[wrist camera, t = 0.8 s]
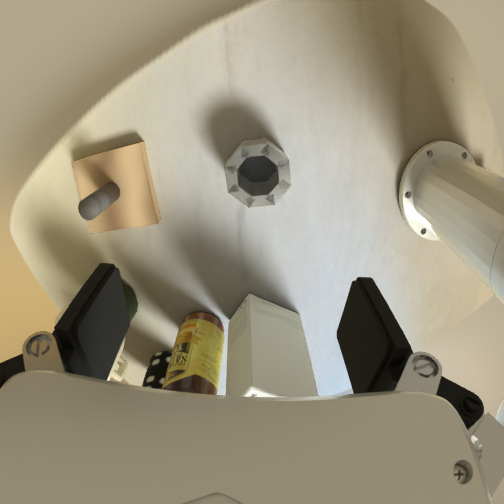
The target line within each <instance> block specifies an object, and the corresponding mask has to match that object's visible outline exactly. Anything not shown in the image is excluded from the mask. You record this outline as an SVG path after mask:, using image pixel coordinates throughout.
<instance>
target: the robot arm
mask: <svg viewBox="0 0 504 504" xmlns="http://www.w3.org/2000/svg"><path fill="white" fill-rule="evenodd" d="M405 193H406V194H405ZM399 205H400V209H401V213H402V216H403V218H404V220H405V222H406V223H407V225H408V226H409V227H410V228H411V229H412V230H413V231H414V232H415V233H416V234H417V235H418V236H420V237H422V238H424V239H427V240H433V241H437V240H442V241H443V242H444V243H445V244H446V245H447V246H448V247H449V248H450V249H451V250H452V251H453V252H454V253H455V254H457V255H458V256H459V257H460V258H461V259H462V260H463V261H464V262H465V263H466V264H467V265H468V266H469V267H470V269H471V270H472V271H473V272H474V273H475V274H476V275H477V276H478V277H479V278H480V279H481V280H482V281H483V282H484V283H485V284H486V285H487V287H488V288H489V289H490V290H491V291H492V292H493V293H494V294H495V295H496V296H497V297H498V299H499V300H500V301H501V302H502V303H503V304H504V178H503V177H501V176H499V175H497V174H495V173H493V172H490V171H488V170H486V169H484V168H482V167H479V166H477V165H476V163H475V161H474V159H473V158H472V156H471V155H470V154H469V152H468V151H467V150H466V149H464V148H463V147H462V146H460V145H458V144H456V143H453V142H450V141H442V140H440V141H434V142H431V143H429V144H426V145H425V146H423V147H422V148H420V149H419V150H418V151H417V152H416V153H415V154H414V155H413V156H412V157H411V159H410V161H409V162H408V164H407V165H406V167H405V170H404V172H403V174H402V178H401V182H400V188H399ZM129 325H130V318H129V314H128V310H127V305H126V301H125V296H124V291H123V287H122V282H121V277H120V271H119V269H118V268H116V267H115V265H114V264H107V263H100V264H99V266H98V267H97V268H96V269H95V271H94V272H93V273H92V275H91V276H90V277H89V279H88V280H87V281H86V283H85V284H84V285H83V287H82V288H81V289H80V291H79V292H78V294H77V295H76V296H75V298H74V299H73V301H72V302H71V303H70V305H69V306H68V308H67V309H66V311H65V312H64V314H63V315H62V317H61V318H60V320H59V321H58V323H57V324H56V326H55V327H54V329H55V330H54V331H53V333H52V334H51V333H49V332H46V331H40V332H36V333H34V334H32V335H31V336H29V337H28V338H27V339H26V341H25V342H24V344H23V350H22V351H23V354H21V355H18V356H16V357H13V358H11V359H9V360H7V361H4V362H2V363H0V504H492V501H491V497H492V495H493V493H494V492H495V490H496V489H497V487H498V486H499V484H500V482H501V481H502V479H503V477H504V399H503V401H502V403H501V405H500V407H499V410H498V412H497V415H496V419H495V418H494V417H493V416H491V414H489V413H487V414H486V415H485V414H484V407H483V403H482V401H481V399H480V398H479V397H478V396H477V395H476V394H474V393H473V392H471V391H469V390H467V389H465V388H463V387H461V386H459V385H457V384H456V383H454V382H452V381H450V380H448V379H446V378H444V377H442V376H441V375H442V367H441V364H440V363H439V361H438V360H437V359H436V358H435V357H434V356H432V355H431V354H428V353H426V352H415V353H413V351H412V349H411V346H410V344H409V342H408V340H407V339H406V337H405V335H404V333H403V331H402V329H401V327H400V326H399V324H398V322H397V320H396V318H395V317H394V315H393V313H392V311H391V309H390V308H389V306H388V304H387V302H386V301H385V299H384V297H383V296H382V294H381V292H380V290H379V289H378V287H377V285H376V284H375V282H374V280H373V279H372V278H369V277H358V278H357V279H356V281H353V282H352V284H351V287H350V291H349V294H348V298H347V301H346V304H345V308H344V311H343V314H342V317H341V320H340V323H339V326H338V329H337V339H338V342H339V346H340V349H341V352H342V355H343V359H344V362H345V365H346V368H347V372H348V375H349V379H350V382H351V385H352V389H353V392H354V394H348V395H330V396H311V397H244V396H223V395H209V394H197V393H187V392H178V391H169V390H161V389H154V388H147V387H141V386H135V385H129V384H123V383H118V382H112V381H107V379H108V376H109V374H110V371H111V369H112V366H113V364H114V361H115V359H116V357H117V354H118V352H119V349H120V347H121V345H122V342H123V340H124V338H125V335H126V333H127V331H128V328H129Z"/></svg>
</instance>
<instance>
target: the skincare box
mask: <svg viewBox="0 0 504 504" xmlns="http://www.w3.org/2000/svg"><path fill="white" fill-rule="evenodd" d="M226 396H244V397H311V396H318V391H317V387H316V382H315V378H314V374H313V369H312V365H311V360H310V356H309V352H308V347H307V343H306V338H305V334H304V330H303V326H302V322H301V317H300V314H297V313H295V312H293V311H290V310H288V309H285V308H283V307H281V306H278V305H276V304H274V303H271V302H269V301H267V300H264V299H262V298H259V297H257V296H255V295H252V294H250V293H249V294H248V295H247V296H246V298H245V299H244V301H243V302H242V304H241V305H240V307H239V308H238V309H237V311H236V312H235V314H234V315H233V316H232V318H231V319H230V321H229V328H228V353H227V378H226Z"/></svg>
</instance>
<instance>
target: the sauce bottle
mask: <svg viewBox="0 0 504 504" xmlns="http://www.w3.org/2000/svg"><path fill="white" fill-rule="evenodd" d="M223 343H224V329H223V325H222V323H221V322H220V320H219V319H218V318H216V317H215V316H213V315H211V314H208V313H204V312H197V313H193V314H190V315H188V316H187V317H186V318H185V319H184V320H183V322H182V325H181V326H180V328H179V331H178V334H177V338H176V341H175V345H174V348H173V352H172V355H171V359H170V362H169V365H168V369H167V373H166V377H165V380H164V384H163V388H162V390H169V391H178V392H187V393H197V394H209V395H216V394H217V389H218V381H219V373H220V366H221V358H222V351H223Z"/></svg>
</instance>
